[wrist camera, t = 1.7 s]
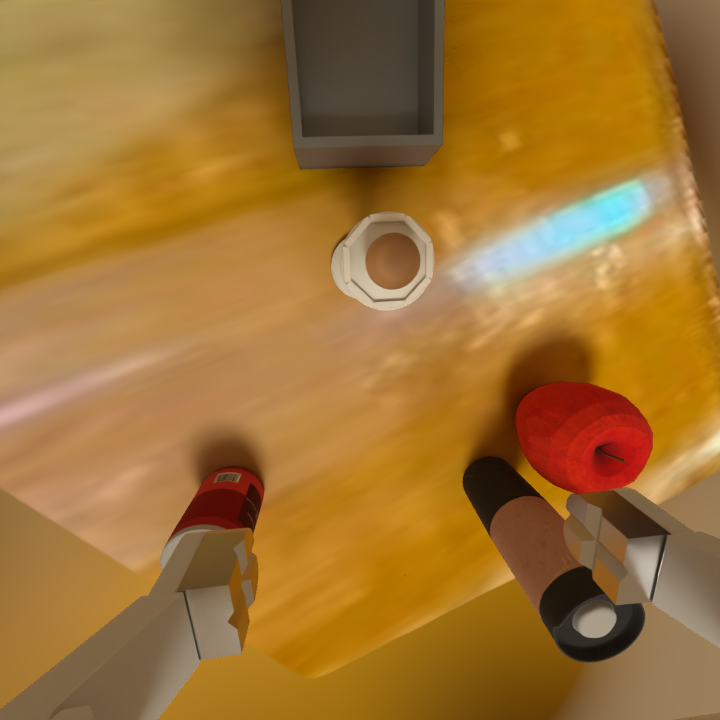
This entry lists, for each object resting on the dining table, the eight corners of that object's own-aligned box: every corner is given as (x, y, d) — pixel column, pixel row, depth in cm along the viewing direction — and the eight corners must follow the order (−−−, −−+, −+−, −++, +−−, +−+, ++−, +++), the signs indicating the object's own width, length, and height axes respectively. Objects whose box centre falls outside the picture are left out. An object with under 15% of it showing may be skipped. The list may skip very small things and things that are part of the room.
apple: (545, 461, 46) (629, 534, 33) (475, 429, 44) (536, 495, 31) (594, 387, 44) (706, 435, 31) (523, 350, 41) (611, 385, 28)
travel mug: (524, 469, 46) (666, 611, 27) (492, 510, 47) (604, 675, 28) (482, 445, 44) (600, 577, 25) (449, 489, 46) (537, 647, 26)
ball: (363, 289, 21) (370, 292, 18) (361, 236, 20) (367, 230, 17) (412, 287, 21) (427, 289, 18) (412, 234, 21) (427, 227, 18)
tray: (299, 169, 34) (293, 148, 28) (280, -57, 29) (268, -138, 24) (423, 165, 35) (442, 144, 29) (424, -54, 30) (446, -131, 25)
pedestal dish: (333, 300, 38) (336, 321, 21) (328, 235, 36) (328, 203, 19) (394, 297, 38) (442, 315, 22) (392, 232, 36) (444, 199, 20)
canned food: (188, 488, 42) (141, 561, 32) (236, 452, 41) (204, 514, 31) (230, 526, 44) (199, 607, 33) (277, 492, 43) (260, 563, 33)
